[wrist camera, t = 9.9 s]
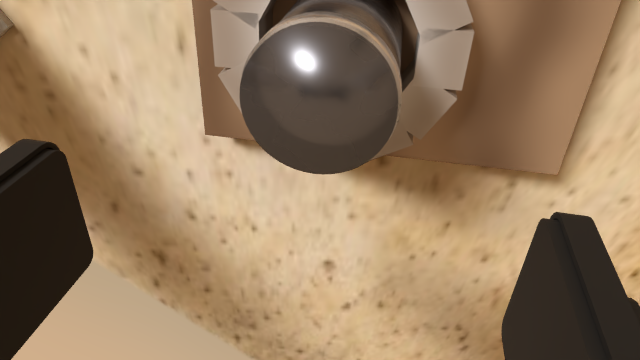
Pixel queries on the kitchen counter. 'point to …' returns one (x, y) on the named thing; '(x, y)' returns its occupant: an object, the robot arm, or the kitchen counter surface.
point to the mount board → (494, 87)
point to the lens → (326, 84)
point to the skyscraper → (4, 23)
